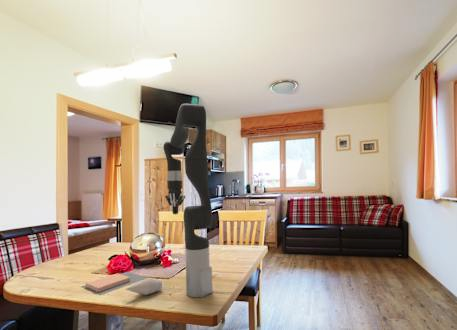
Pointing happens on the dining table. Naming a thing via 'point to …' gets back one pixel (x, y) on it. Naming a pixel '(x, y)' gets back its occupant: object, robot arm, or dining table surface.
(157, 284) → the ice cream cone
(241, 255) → the dining table surface
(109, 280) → the tile
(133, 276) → the mat
